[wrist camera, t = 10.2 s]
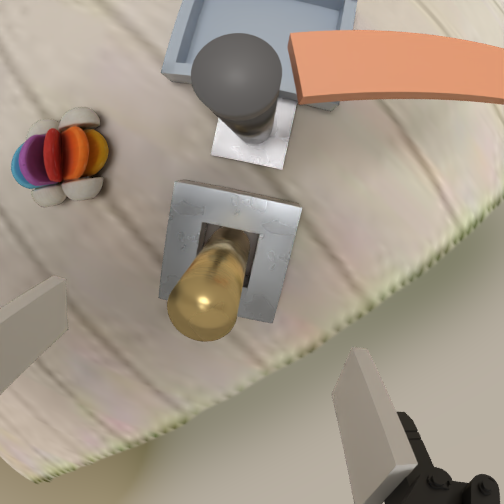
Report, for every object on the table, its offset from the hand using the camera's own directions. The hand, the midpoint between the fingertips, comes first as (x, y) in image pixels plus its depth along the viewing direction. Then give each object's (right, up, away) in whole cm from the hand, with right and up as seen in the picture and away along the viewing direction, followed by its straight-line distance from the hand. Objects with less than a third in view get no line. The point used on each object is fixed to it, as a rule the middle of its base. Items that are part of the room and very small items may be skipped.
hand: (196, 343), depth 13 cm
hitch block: (0, +4, +15) cm, 16 cm away
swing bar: (+9, +12, -2) cm, 15 cm away
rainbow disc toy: (-15, +13, +14) cm, 24 cm away
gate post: (+3, +14, +13) cm, 19 cm away
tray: (+3, +22, +10) cm, 25 cm away
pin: (0, +4, +15) cm, 16 cm away
